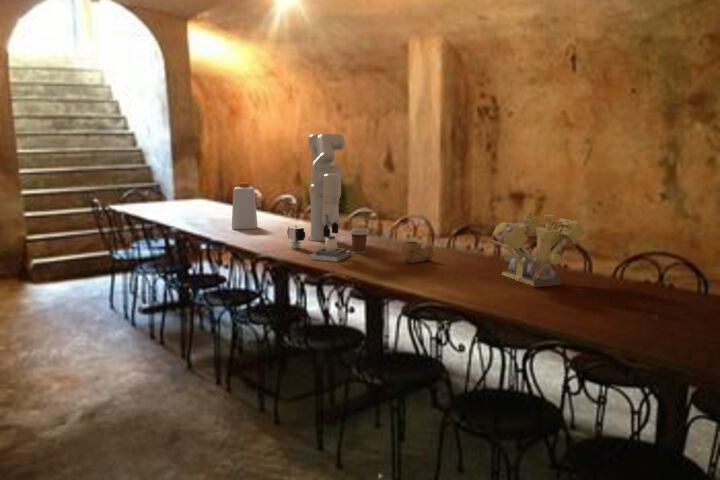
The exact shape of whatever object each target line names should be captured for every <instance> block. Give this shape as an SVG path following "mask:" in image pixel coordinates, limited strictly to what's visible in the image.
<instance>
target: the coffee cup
mask: <svg viewBox="0 0 720 480" xmlns="http://www.w3.org/2000/svg"><path fill="white" fill-rule="evenodd" d="M349 233H350V234H351V242H352V243H351V245H352V253H354V254H365V253H366V246H367V239H368V238H367V236H368V234H369V231H368V230H367V228H365V227H352V230H351V231H349Z"/></svg>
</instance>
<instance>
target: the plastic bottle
mask: <svg viewBox="0 0 720 480" xmlns="http://www.w3.org/2000/svg"><path fill="white" fill-rule="evenodd" d="M232 191H233V192H232V213H231V215H232V216H231V229H233V230H235V229H236V230H237V231H247V230H248V231H250V230H251V231H252V229H253V230H255V229H257V228H258V216H257V204H256V191H255V187H253V186H250V183H249V182H248V181H246V182H239V183H238V186H235V187H234V188H233V190H232ZM236 230H235V231H236Z"/></svg>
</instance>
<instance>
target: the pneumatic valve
mask: <svg viewBox="0 0 720 480" xmlns="http://www.w3.org/2000/svg"><path fill="white" fill-rule="evenodd" d="M286 233H287V238H288V240H291V248H292V249H295V250H296V249H301V241H304V240H305V239H306V231H305V228H303V227H301V226H298V225H297V224H295V225H292V226H291V225H289V226H287V231H286Z"/></svg>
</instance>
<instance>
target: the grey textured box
mask: <svg viewBox="0 0 720 480" xmlns="http://www.w3.org/2000/svg"><path fill="white" fill-rule="evenodd" d="M402 255H403V256H402V257H403V260H404V261H405V262H407V263H408V264H416V263H417V262H419V261H423V260H429V261H430V260H433V258H434V248H433V246H432V245H431V244H429V243H428V242H423V243H422V242H417V241H416V240H413V241H412V240H407V241H404V242H403V245H402Z"/></svg>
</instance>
